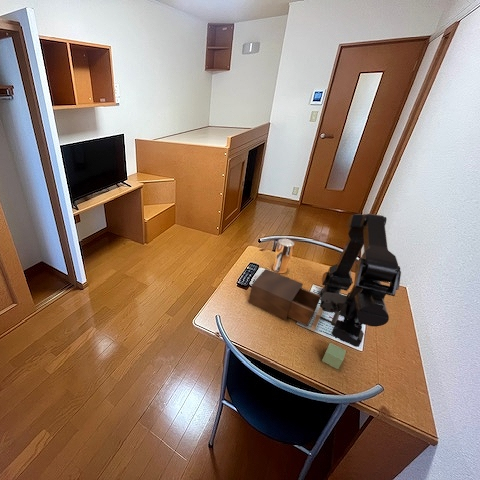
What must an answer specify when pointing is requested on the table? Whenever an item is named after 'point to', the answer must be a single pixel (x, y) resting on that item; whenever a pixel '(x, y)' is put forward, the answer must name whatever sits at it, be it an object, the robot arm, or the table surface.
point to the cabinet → (274, 293)
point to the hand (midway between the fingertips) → (343, 337)
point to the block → (334, 355)
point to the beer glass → (283, 255)
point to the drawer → (308, 309)
